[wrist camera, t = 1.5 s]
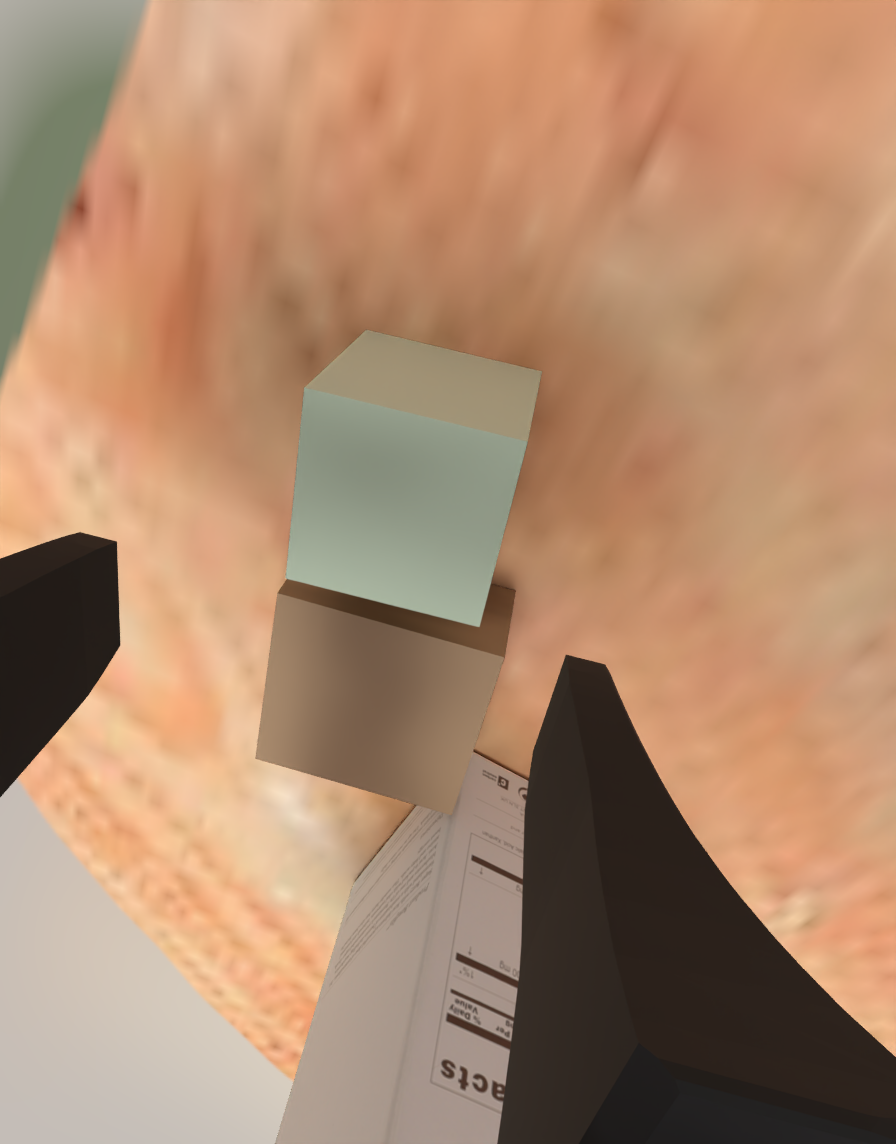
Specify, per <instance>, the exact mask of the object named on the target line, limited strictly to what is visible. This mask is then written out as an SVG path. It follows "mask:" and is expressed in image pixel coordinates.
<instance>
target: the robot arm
mask: <svg viewBox="0 0 896 1144" xmlns="http://www.w3.org/2000/svg"><path fill="white" fill-rule="evenodd" d="M119 646H120V623H119V593H118V563H117V542H116V541H112V540H108V539H104V538H100V537H96V536H93V535H89V534H85V533H81V532H79V533H76V534H72V535H68V536H65V537H61V538H58V539H55V540H52V541H49V542H46V543H43V544H40V545H37V546H34V547H32V548H29V549H26V550H23V551H20V552H18V553H15V554H12V555H9V556H6V557H4V558H1V559H0V797H1V796H2V794H4V792H5V791H6V790H7V789H8V788H9V786H10V785H11V784H12V783H13V782H14V781H15V780H16V779H17V778H18V776H19V775H20V774H21V773H22V772H23V771H24V770H25V768H26V767H27V766H28V765H29V764H30V763H31V761H32V760H33V759H34V758H35V757H36V756H37V755H38V753H39V752H40V751H41V750H42V749H43V748H44V747H45V745H46V744H47V743H48V742H49V741H50V740H51V739H52V737H53V736H54V735H55V734H56V733H57V732H58V730H59V729H60V728H61V727H62V726H63V725H64V723H65V722H66V721H67V720H68V719H69V718H70V716H71V715H72V714H73V713H74V712H75V711H76V709H77V708H78V707H79V706H80V705H81V703H82V702H83V701H84V700H85V699H86V697H87V696H88V695H89V693H90V692H91V690H92V689H93V687H94V686H95V684H96V683H97V681H98V680H99V678H100V677H101V675H102V674H103V672H104V671H105V669H106V667H107V666H108V664H109V663H110V661H111V659H112V658H113V656H114V655H115V653H116V651H117V650H118V648H119ZM497 1144H896V1057H895V1056H894V1055H893V1054H892V1053H890V1052H889V1051H888V1050H887V1049H886V1048H885V1047H884V1046H883V1045H882V1044H881V1043H879V1042H878V1041H877V1040H876V1039H875V1038H874V1037H873V1036H872V1035H871V1034H870V1033H869V1032H867V1031H866V1030H865V1029H864V1028H863V1027H862V1026H861V1025H860V1024H859V1023H858V1022H856V1021H855V1020H854V1019H853V1018H852V1017H851V1016H850V1015H849V1014H848V1013H847V1012H846V1011H845V1010H844V1009H843V1008H842V1007H841V1006H839V1005H838V1004H837V1003H836V1002H835V1001H834V1000H833V998H832V997H831V996H830V995H829V994H828V993H827V992H826V991H825V990H824V989H823V988H822V987H821V986H820V985H819V984H818V983H817V982H816V981H815V980H814V979H813V978H812V977H811V976H810V975H809V974H808V973H807V972H806V971H805V970H804V969H803V968H802V967H801V966H800V965H799V964H798V963H797V961H796V960H795V959H794V958H793V957H792V956H791V955H790V954H789V953H788V952H787V951H786V949H785V948H784V947H783V946H782V945H781V944H780V943H779V942H778V941H777V940H776V939H775V937H774V936H773V935H772V934H771V933H770V932H769V930H768V929H767V928H766V927H765V926H764V925H763V923H762V922H761V921H760V920H759V919H758V917H757V916H756V915H755V914H754V913H753V911H752V910H751V909H750V908H749V907H748V906H747V904H746V903H745V902H744V901H743V900H742V898H741V897H740V896H739V895H738V893H737V892H736V891H735V890H734V888H733V887H732V886H731V885H730V883H729V882H728V881H727V879H726V878H725V877H724V876H723V874H722V873H721V872H720V870H719V869H718V867H717V866H716V865H715V863H714V862H713V860H712V859H711V858H710V856H709V855H708V853H707V852H706V851H705V849H704V848H703V847H702V845H701V844H700V842H699V841H698V840H697V838H696V837H695V835H694V834H693V832H692V831H691V829H690V828H689V826H688V824H687V823H686V821H685V820H684V818H683V817H682V815H681V813H680V812H679V810H678V808H677V807H676V805H675V803H674V802H673V800H672V798H671V797H670V795H669V793H668V791H667V790H666V788H665V786H664V784H663V783H662V781H661V779H660V777H659V775H658V774H657V772H656V770H655V768H654V766H653V764H652V762H651V760H650V758H649V756H648V754H647V753H646V751H645V749H644V747H643V745H642V743H641V741H640V739H639V737H638V735H637V733H636V731H635V729H634V726H633V724H632V722H631V720H630V718H629V716H628V714H627V711H626V709H625V707H624V705H623V702H622V700H621V698H620V696H619V693H618V691H617V689H616V686H615V684H614V682H613V679H612V677H611V674H610V672H609V670H608V669H607V667H606V665H605V664H601V663H597V662H593V661H589V660H585V659H581V658H577V657H573V656H569V655H566V656H565V659H564V662H563V665H562V668H561V671H560V674H559V677H558V680H557V683H556V686H555V689H554V692H553V695H552V698H551V700H550V703H549V706H548V709H547V712H546V715H545V718H544V721H543V724H542V727H541V730H540V733H539V736H538V739H537V742H536V745H535V747H534V750H533V756H532V762H531V769H530V776H529V782H528V789H527V796H526V803H525V815H524V848H523V890H522V933H521V955H520V970H519V980H518V989H517V997H516V1005H515V1013H514V1021H513V1030H512V1038H511V1046H510V1053H509V1061H508V1068H507V1076H506V1083H505V1091H504V1099H503V1106H502V1114H501V1121H500V1128H499V1135H498V1142H497Z"/></svg>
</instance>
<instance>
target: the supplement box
mask: <svg viewBox="0 0 896 1144" xmlns="http://www.w3.org/2000/svg"><path fill="white" fill-rule="evenodd" d="M528 782H529V781H528V780H526V779H524V778H522V777H520V776H518V775H516V774H514V773H512V772H511V771H509V770H507V769H505V768H503V767H501V766H499V765H497V764H495V763H493V762H492V761H490V760H488V759H486V758H484V757H482V756H480V755H479V754H477V753H475V752H473V753H472V756H471V759H470V762H469V765H468V768H467V771H466V774H465V777H464V780H463V783H462V786H461V789H460V792H459V795H458V798H457V801H456V804H455V807H454V810H453V813H452V815H449V814H446V813H442V812H439V811H435V810H432V809H428V808H425V807H421V806H418V805H417V806H416V807H415V808H414V809H413V811H412V812H411V813H410V814H409V816H408V817H407V818H406V819H405V820H404V822H403V823H402V824H401V825H400V827H399V828H398V829H397V830H396V832H395V833H394V834H393V835H392V836H391V838H390V839H389V840H388V841H387V843H386V844H385V845H384V846H383V848H382V849H381V850H380V851H379V852H378V854H377V855H376V856H375V857H374V859H373V860H372V861H371V862H370V864H369V865H368V866H367V867H366V869H365V870H364V871H363V872H362V874H361V875H360V876H359V877H358V879H357V880H356V881H355V883H354V884H353V886H352V890H351V893H350V896H349V900H348V903H347V906H346V910H345V913H344V916H343V920H342V923H341V926H340V929H339V933H338V936H337V939H336V943H335V946H334V949H333V952H332V956H331V959H330V962H329V966H328V969H327V972H326V975H325V979H324V982H323V985H322V989H321V992H320V995H319V999H318V1002H317V1005H316V1009H315V1012H314V1015H313V1019H312V1022H311V1026H310V1029H309V1032H308V1036H307V1039H306V1042H305V1046H304V1049H303V1052H302V1056H301V1059H300V1062H299V1065H298V1069H297V1072H296V1076H295V1079H294V1082H293V1086H292V1089H291V1092H290V1095H289V1099H288V1102H287V1106H286V1109H285V1112H284V1116H283V1119H282V1122H281V1125H280V1129H279V1132H278V1135H277V1139H276V1142H275V1144H497V1142H498V1135H499V1128H500V1121H501V1114H502V1106H503V1099H504V1091H505V1083H506V1076H507V1068H508V1061H509V1053H510V1046H511V1038H512V1030H513V1021H514V1013H515V1005H516V997H517V989H518V980H519V970H520V955H521V933H522V890H523V848H524V815H525V803H526V796H527V789H528Z"/></svg>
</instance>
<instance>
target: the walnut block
mask: <svg viewBox="0 0 896 1144" xmlns="http://www.w3.org/2000/svg"><path fill="white" fill-rule="evenodd" d="M514 597H515V590H511V589H507V588H504V587H500V586H497V585H493V584H491V585H490V588H489V592H488V596H487V600H486V604H485V608H484V611H483V615H482V619H481V623H480V627H476V626H472V625H468V624H464V623H460V622H457V621H453V620H449V619H445V618H441V617H437V616H433V615H429V614H425V613H421V612H417V611H413V610H409V609H405V608H401V607H397V606H393V605H389V604H385V603H381V602H377V601H373V600H369V599H365V598H361V597H357V596H353V595H349V594H345V593H342V592H338V591H334V590H330V589H326V588H322V587H318V586H314V585H310V584H306V583H302V582H298V581H294V580H290V579H287V580H286V581H285V583H284V584H283V586H282V587H281V589H280V590H279V592H278V594H277V601H276V609H275V616H274V623H273V631H272V638H271V646H270V653H269V661H268V668H267V676H266V683H265V691H264V698H263V706H262V713H261V721H260V728H259V736H258V743H257V751H256V758H255V759H259V760H262V761H265V762H269V763H272V764H276V765H279V766H283V767H286V768H290V769H293V770H297V771H300V772H304V773H307V774H311V775H314V776H317V777H321V778H324V779H328V780H331V781H335V782H338V783H342V784H345V785H349V786H352V787H356V788H359V789H362V790H366V791H369V792H373V793H376V794H380V795H383V796H387V797H390V798H394V799H397V800H401V801H404V802H408V803H411V804H414V805H418V806H421V807H425V808H428V809H432V810H435V811H439V812H442V813H446V814H449V815H452V813H453V810H454V807H455V804H456V801H457V798H458V795H459V792H460V789H461V786H462V783H463V780H464V777H465V774H466V771H467V768H468V765H469V762H470V759H471V756H472V753H473V750H474V747H475V744H476V741H477V738H478V735H479V732H480V729H481V726H482V723H483V720H484V717H485V714H486V711H487V708H488V705H489V702H490V699H491V696H492V693H493V690H494V687H495V684H496V681H497V678H498V675H499V672H500V669H501V666H502V664H503V661H504V658H505V652H506V646H507V640H508V634H509V628H510V622H511V615H512V609H513V603H514Z"/></svg>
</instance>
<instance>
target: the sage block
mask: <svg viewBox="0 0 896 1144" xmlns="http://www.w3.org/2000/svg"><path fill="white" fill-rule="evenodd" d="M541 374H542V371H538V370H534V369H530V368H526V367H522V366H517V365H513V364H509V363H505V362H501V361H496V360H492V359H488V358H484V357H480V356H475V355H471V354H467V353H463V352H459V351H454V350H450V349H446V348H442V347H437V346H433V345H429V344H425V343H421V342H416V341H412V340H408V339H404V338H400V337H395V336H391V335H387V334H383V333H379V332H374V331H370V330H365V331H364V332H363V333H362V334H361V335H360V336H359V337H358V338H357V339H356V340H355V341H354V342H353V343H351V344H350V345H349V346H348V347H347V348H346V349H345V350H344V351H343V352H342V353H341V354H340V355H339V356H338V357H336V358H335V359H334V360H333V361H332V362H331V363H330V364H329V365H328V366H327V367H326V368H325V369H324V370H323V371H321V372H320V373H319V374H318V375H317V376H316V377H315V378H314V379H313V380H312V381H311V382H310V383H309V384H308V385H306V386H305V387H304V396H303V406H302V416H301V426H300V436H299V447H298V457H297V467H296V477H295V488H294V498H293V508H292V518H291V528H290V539H289V549H288V559H287V569H286V579H290V580H294V581H298V582H302V583H306V584H310V585H314V586H318V587H322V588H326V589H330V590H334V591H338V592H342V593H345V594H349V595H353V596H357V597H361V598H365V599H369V600H373V601H377V602H381V603H385V604H389V605H393V606H397V607H401V608H405V609H409V610H413V611H417V612H421V613H425V614H429V615H433V616H437V617H441V618H445V619H449V620H453V621H457V622H460V623H464V624H468V625H472V626H476V627H480V623H481V619H482V615H483V611H484V608H485V604H486V600H487V596H488V592H489V588H490V585H491V581H492V577H493V573H494V569H495V565H496V562H497V558H498V554H499V550H500V546H501V542H502V539H503V535H504V531H505V527H506V523H507V519H508V516H509V512H510V508H511V504H512V500H513V496H514V492H515V489H516V485H517V481H518V477H519V473H520V469H521V466H522V462H523V458H524V454H525V450H526V446H527V443H528V438H529V433H530V428H531V423H532V418H533V413H534V408H535V403H536V399H537V394H538V389H539V384H540V379H541Z"/></svg>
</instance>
